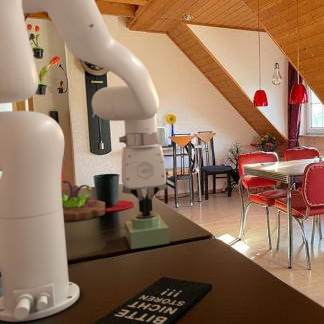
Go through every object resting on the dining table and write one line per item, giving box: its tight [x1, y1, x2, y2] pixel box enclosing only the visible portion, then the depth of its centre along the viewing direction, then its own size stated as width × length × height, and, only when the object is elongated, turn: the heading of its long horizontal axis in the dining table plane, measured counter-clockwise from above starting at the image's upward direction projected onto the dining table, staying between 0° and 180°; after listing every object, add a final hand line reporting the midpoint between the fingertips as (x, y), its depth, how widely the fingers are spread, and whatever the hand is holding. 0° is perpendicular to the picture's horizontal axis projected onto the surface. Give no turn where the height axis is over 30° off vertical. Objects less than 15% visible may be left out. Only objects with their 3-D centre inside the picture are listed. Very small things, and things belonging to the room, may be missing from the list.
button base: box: [124, 212, 171, 250], centre depth 96 cm, size 11×9×6 cm
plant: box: [61, 180, 106, 222], centre depth 125 cm, size 20×20×11 cm
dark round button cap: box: [136, 212, 155, 219], centre depth 96 cm, size 4×4×2 cm
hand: (146, 214), depth 96 cm, fingers closed
